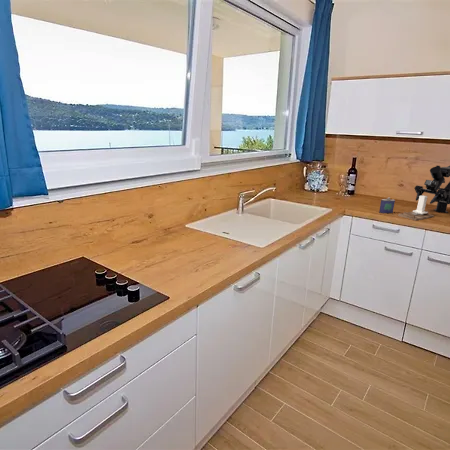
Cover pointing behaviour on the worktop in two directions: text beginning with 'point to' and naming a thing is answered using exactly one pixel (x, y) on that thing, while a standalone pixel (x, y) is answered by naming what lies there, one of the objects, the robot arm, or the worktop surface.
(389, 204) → the flask
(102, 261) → the worktop surface
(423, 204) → the slider
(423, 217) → the rail board
